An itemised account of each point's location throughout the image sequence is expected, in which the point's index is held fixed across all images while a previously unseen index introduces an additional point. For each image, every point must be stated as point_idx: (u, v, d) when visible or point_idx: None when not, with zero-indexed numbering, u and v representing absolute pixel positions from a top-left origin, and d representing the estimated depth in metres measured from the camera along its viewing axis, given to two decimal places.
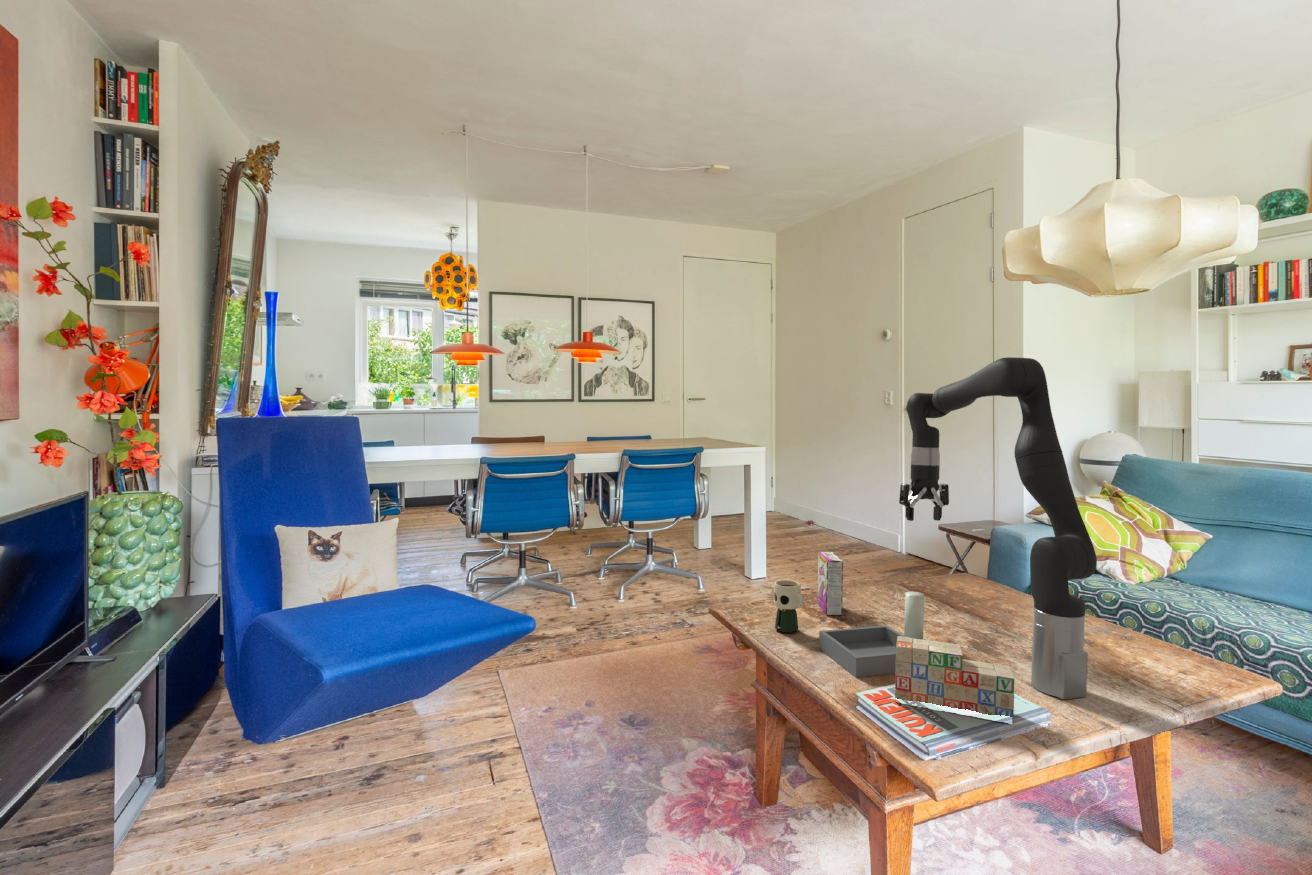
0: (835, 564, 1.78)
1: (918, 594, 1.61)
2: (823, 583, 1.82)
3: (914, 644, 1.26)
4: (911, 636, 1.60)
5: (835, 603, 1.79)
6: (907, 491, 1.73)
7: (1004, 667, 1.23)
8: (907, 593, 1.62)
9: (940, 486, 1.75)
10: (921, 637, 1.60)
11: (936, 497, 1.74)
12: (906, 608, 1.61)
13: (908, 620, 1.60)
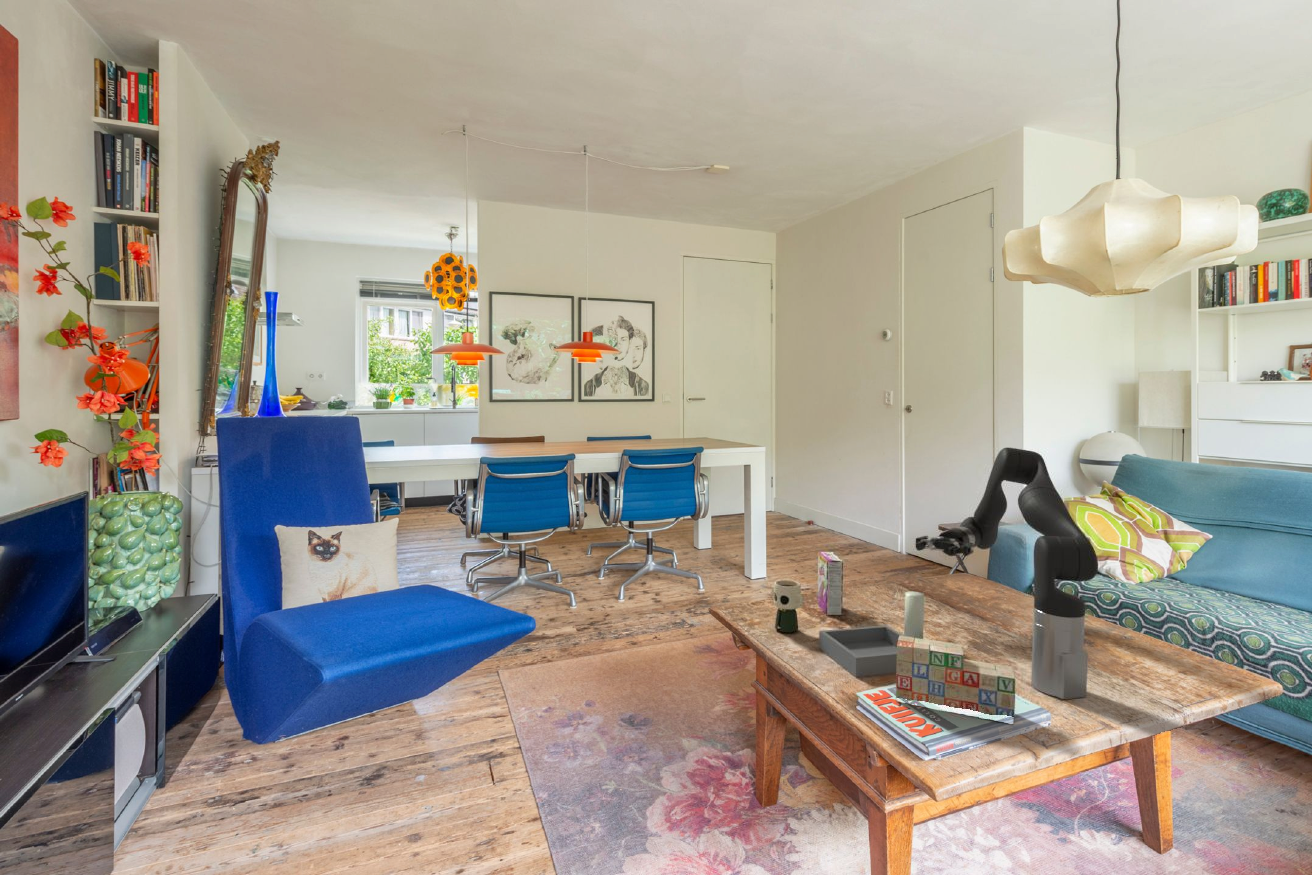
0: (835, 564, 1.78)
1: (918, 594, 1.61)
2: (823, 583, 1.82)
3: (915, 644, 1.27)
4: (911, 636, 1.60)
5: (835, 603, 1.79)
6: (924, 537, 1.78)
7: (1006, 667, 1.23)
8: (907, 593, 1.62)
9: None
10: (921, 637, 1.60)
11: (953, 541, 1.71)
12: (906, 608, 1.61)
13: (908, 620, 1.60)
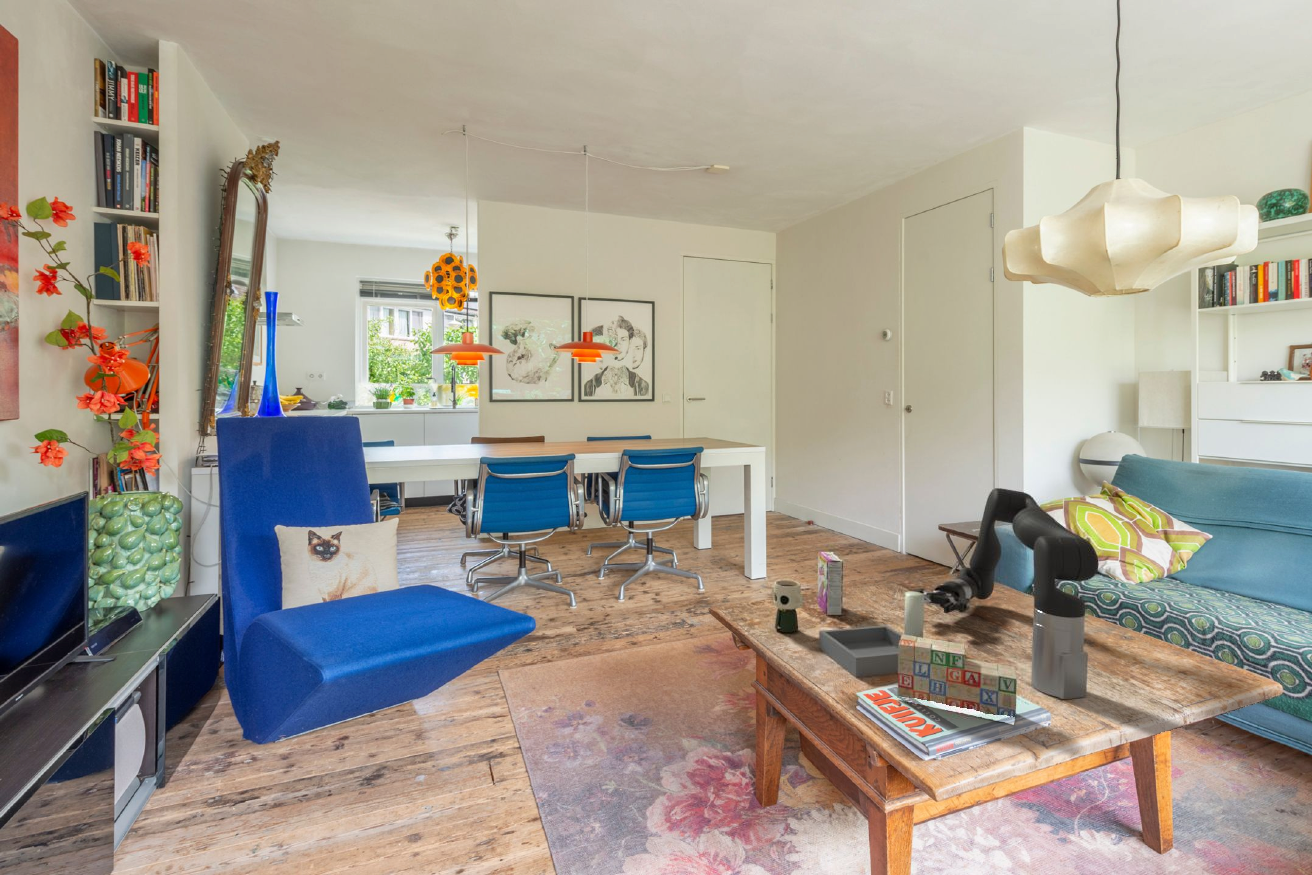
0: (835, 564, 1.78)
1: (918, 594, 1.61)
2: (823, 583, 1.82)
3: (917, 642, 1.27)
4: None
5: (835, 603, 1.79)
6: (920, 590, 1.78)
7: (1008, 668, 1.22)
8: (907, 593, 1.62)
9: (961, 600, 1.71)
10: (921, 637, 1.60)
11: (949, 596, 1.70)
12: (906, 608, 1.61)
13: (908, 620, 1.60)
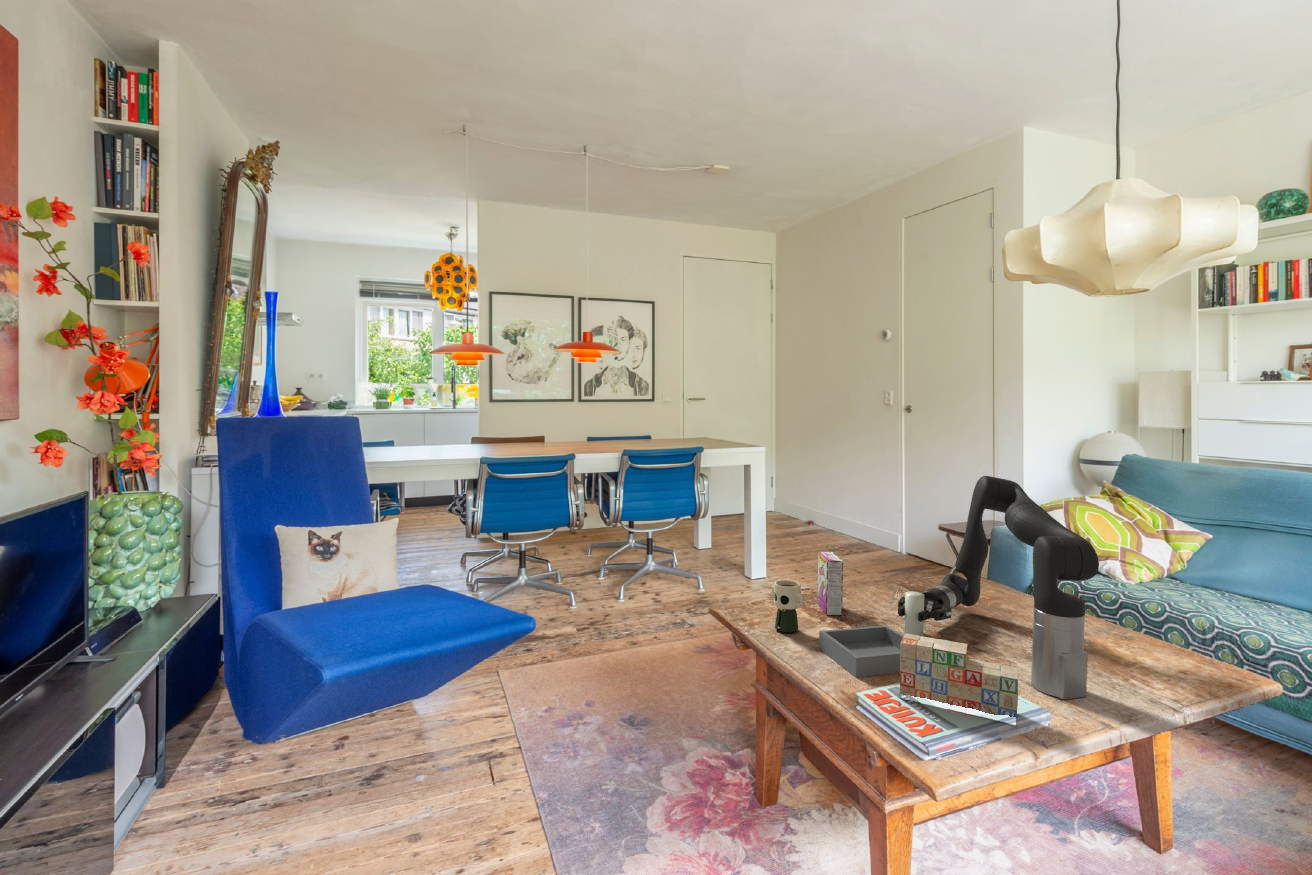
0: (835, 564, 1.78)
1: (918, 594, 1.61)
2: (823, 583, 1.82)
3: (919, 641, 1.28)
4: None
5: (835, 603, 1.79)
6: (903, 598, 1.69)
7: (1011, 668, 1.22)
8: (907, 593, 1.62)
9: None
10: None
11: (928, 604, 1.63)
12: (906, 608, 1.61)
13: (908, 620, 1.60)
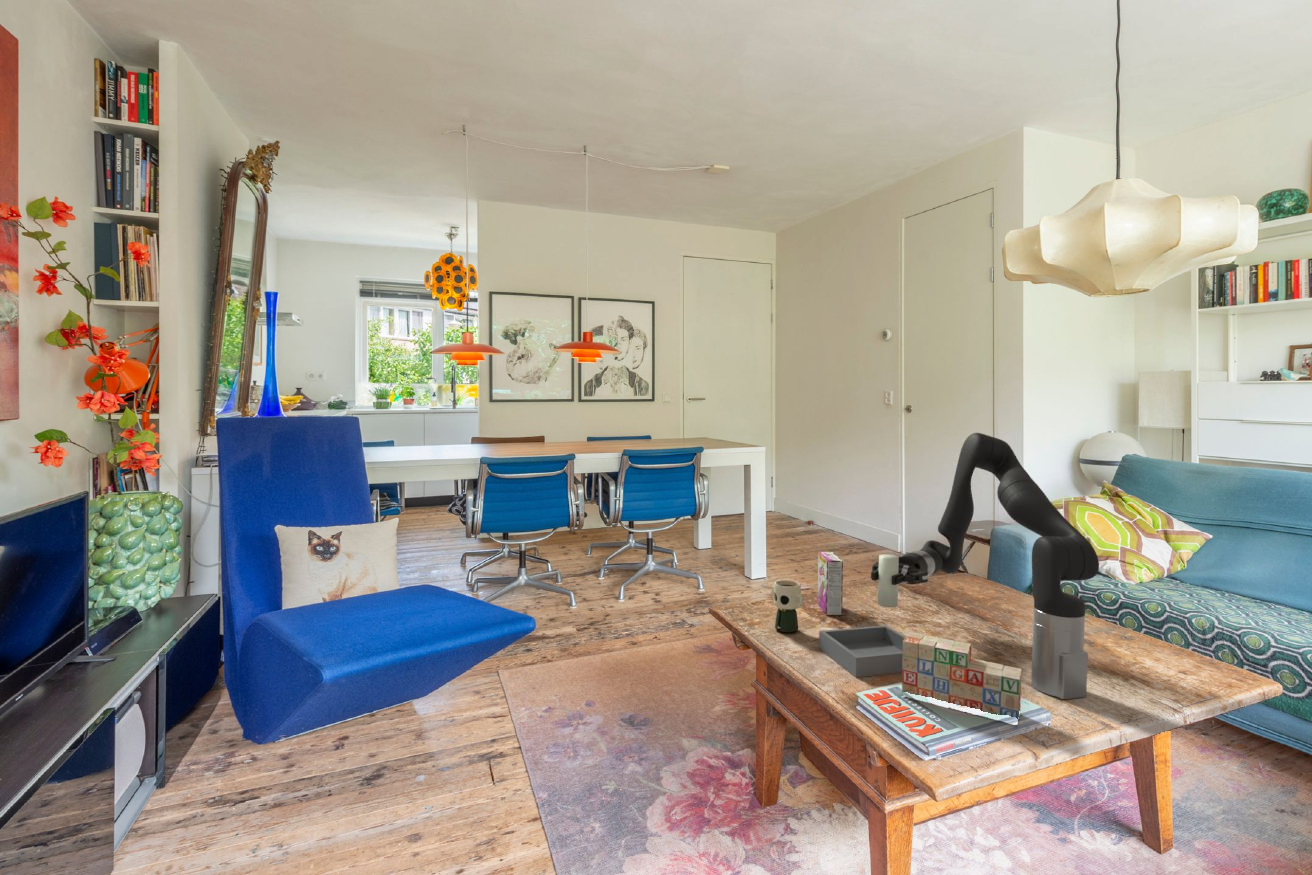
0: (835, 564, 1.78)
1: (892, 556, 1.52)
2: (823, 583, 1.82)
3: (922, 640, 1.28)
4: (885, 601, 1.51)
5: (835, 603, 1.79)
6: (878, 563, 1.60)
7: (1014, 669, 1.22)
8: (881, 556, 1.53)
9: None
10: (895, 602, 1.51)
11: (904, 568, 1.54)
12: (879, 571, 1.52)
13: (881, 584, 1.51)
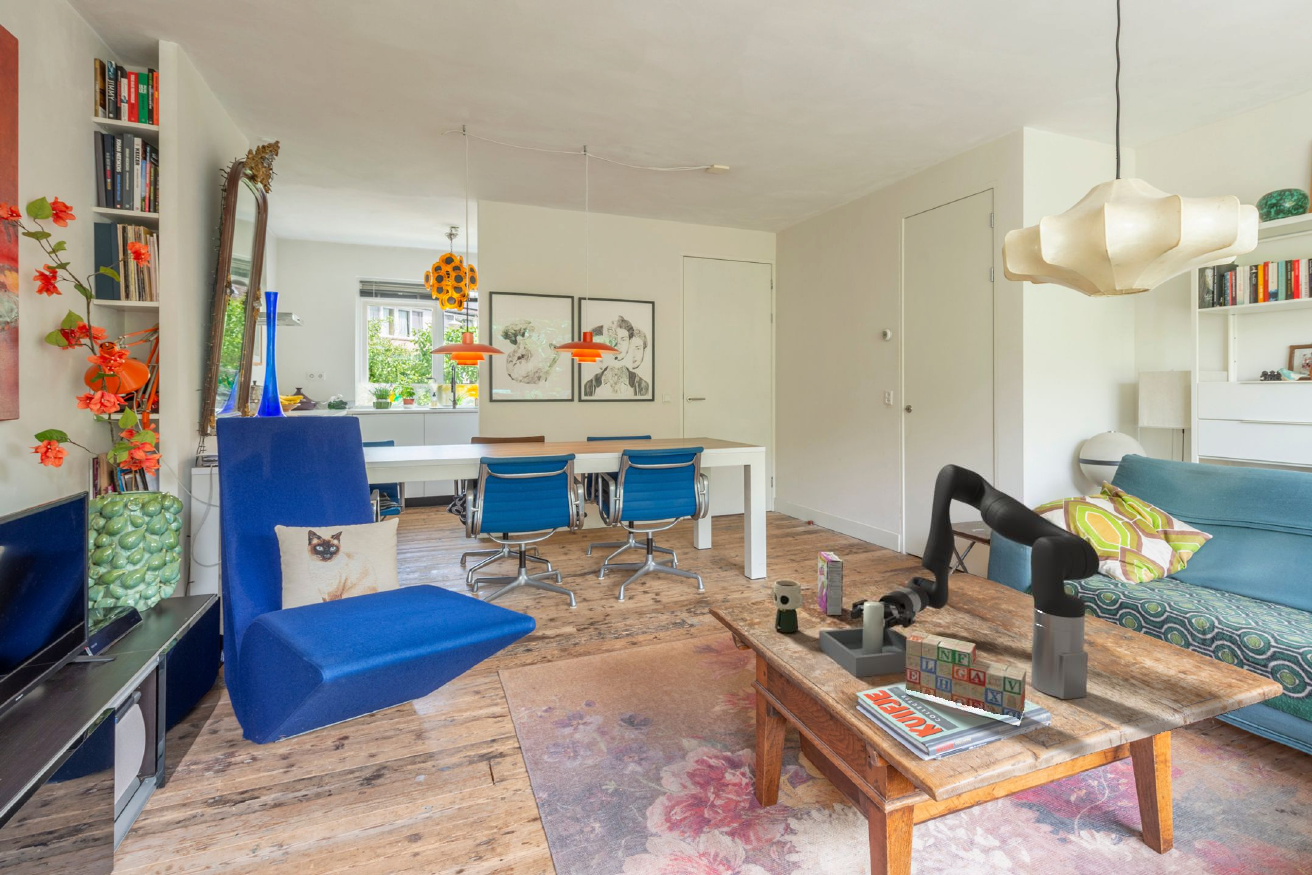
0: (835, 564, 1.78)
1: (877, 604, 1.49)
2: (823, 583, 1.82)
3: (926, 639, 1.29)
4: (869, 650, 1.47)
5: (835, 603, 1.79)
6: (862, 601, 1.57)
7: (1018, 669, 1.22)
8: (866, 603, 1.49)
9: (906, 613, 1.50)
10: (880, 652, 1.47)
11: (893, 609, 1.50)
12: (864, 619, 1.48)
13: (866, 632, 1.48)
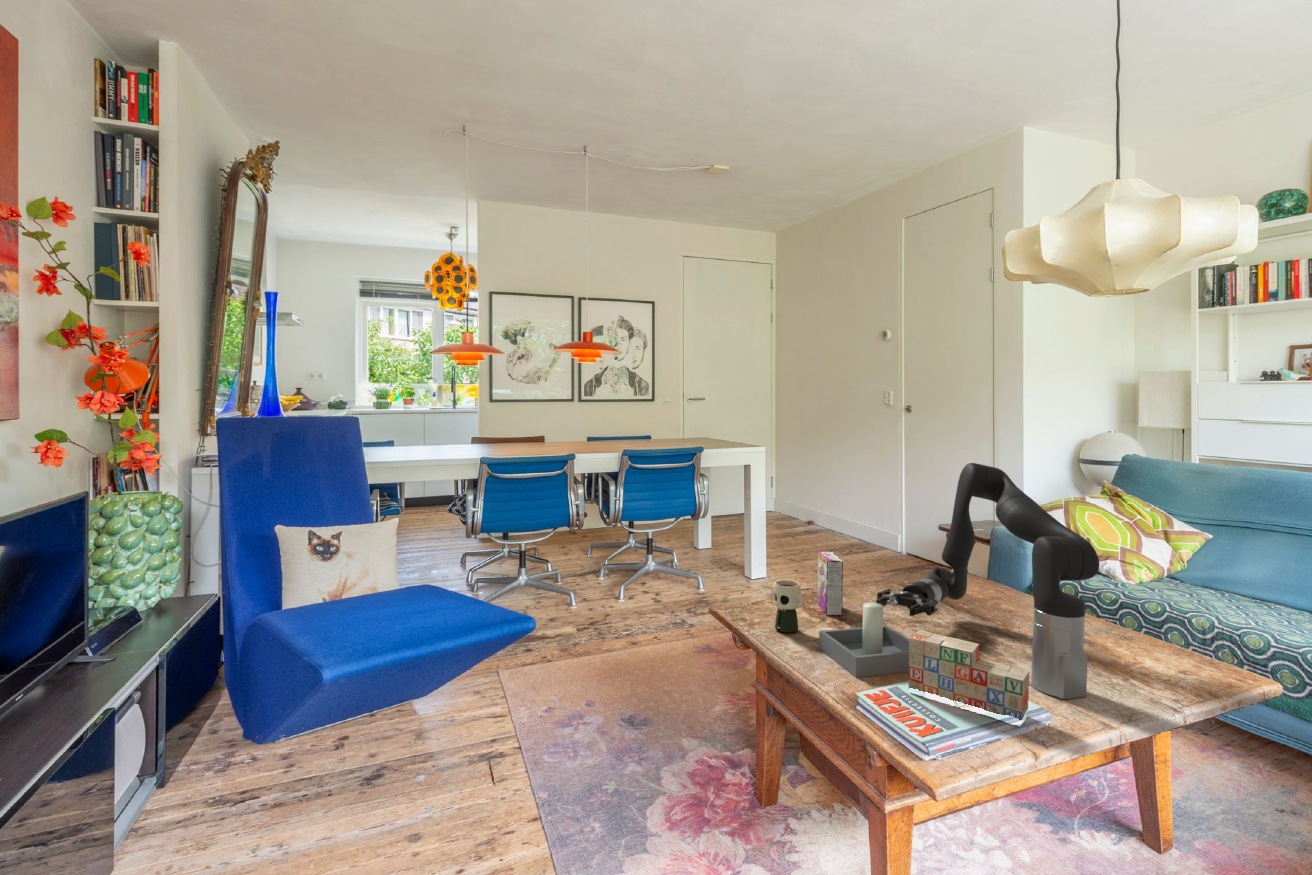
0: (835, 564, 1.78)
1: (876, 605, 1.48)
2: (823, 583, 1.82)
3: (929, 638, 1.30)
4: (869, 651, 1.47)
5: (835, 603, 1.79)
6: (886, 590, 1.66)
7: (1021, 670, 1.21)
8: (865, 604, 1.49)
9: (929, 602, 1.59)
10: (880, 652, 1.47)
11: (916, 598, 1.58)
12: (864, 621, 1.48)
13: (865, 634, 1.47)
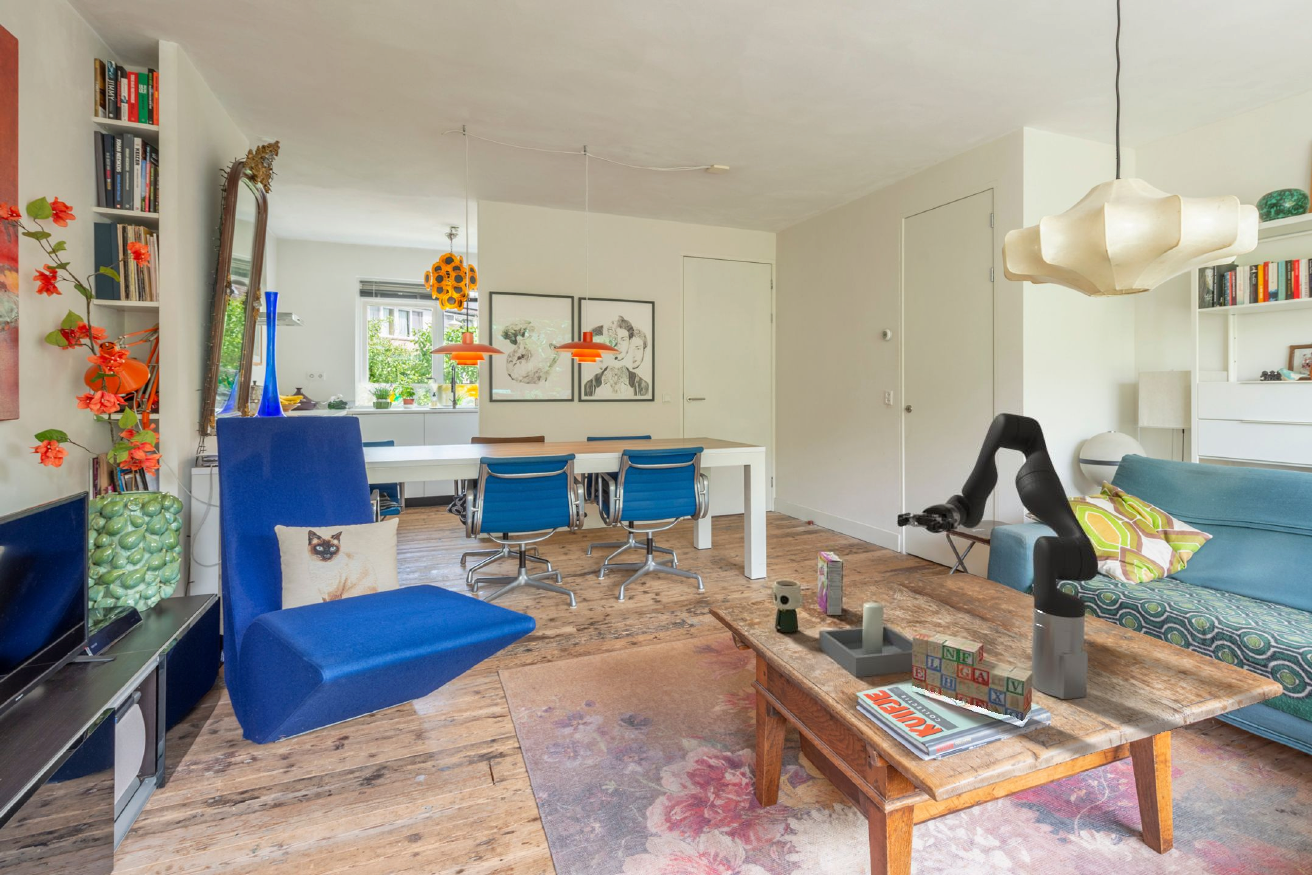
0: (835, 564, 1.78)
1: (877, 605, 1.48)
2: (823, 583, 1.82)
3: (932, 637, 1.30)
4: (869, 651, 1.47)
5: (835, 603, 1.79)
6: (906, 513, 1.71)
7: (1024, 671, 1.21)
8: (865, 604, 1.49)
9: None
10: (880, 652, 1.47)
11: (936, 517, 1.64)
12: (864, 620, 1.48)
13: (866, 633, 1.47)
